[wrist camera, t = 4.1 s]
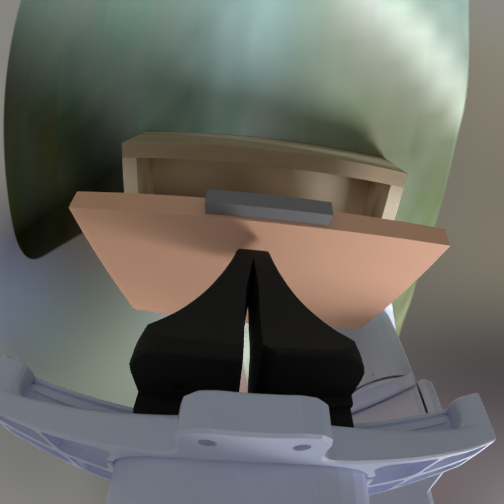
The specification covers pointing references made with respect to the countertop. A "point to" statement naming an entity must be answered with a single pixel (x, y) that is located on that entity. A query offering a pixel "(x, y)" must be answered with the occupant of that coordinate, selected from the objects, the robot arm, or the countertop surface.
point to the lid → (255, 238)
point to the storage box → (261, 170)
